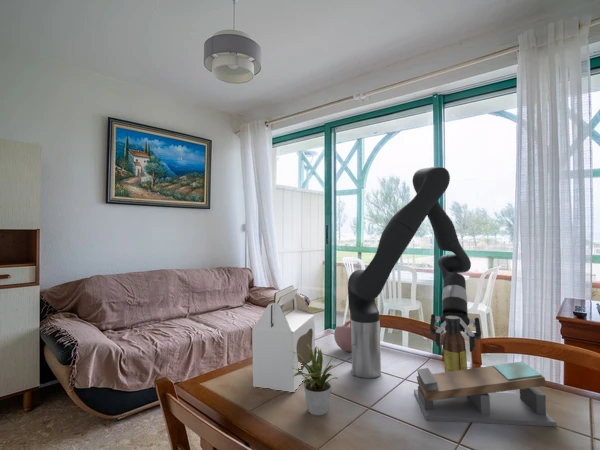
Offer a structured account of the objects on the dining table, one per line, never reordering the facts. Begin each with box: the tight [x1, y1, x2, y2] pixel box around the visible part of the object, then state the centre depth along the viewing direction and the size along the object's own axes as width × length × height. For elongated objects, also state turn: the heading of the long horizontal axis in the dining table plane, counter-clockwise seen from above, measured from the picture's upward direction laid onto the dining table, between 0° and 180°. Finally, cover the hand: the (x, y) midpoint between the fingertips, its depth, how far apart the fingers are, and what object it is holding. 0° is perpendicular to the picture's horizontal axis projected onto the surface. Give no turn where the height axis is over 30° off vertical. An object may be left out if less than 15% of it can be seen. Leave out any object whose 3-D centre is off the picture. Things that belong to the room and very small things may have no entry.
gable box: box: [251, 285, 316, 393], centre depth 110 cm, size 22×13×28 cm, turn 161°
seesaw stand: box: [413, 385, 557, 427], centre depth 87 cm, size 29×14×6 cm, turn 82°
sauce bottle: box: [442, 316, 468, 372], centre depth 101 cm, size 7×6×20 cm
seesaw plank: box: [416, 361, 547, 401], centre depth 87 cm, size 28×10×4 cm, turn 82°
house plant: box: [292, 344, 339, 416], centre depth 89 cm, size 14×14×16 cm
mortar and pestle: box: [333, 319, 352, 353], centre depth 131 cm, size 12×12×12 cm
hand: (455, 348), depth 100 cm, fingers open, 8 cm apart
